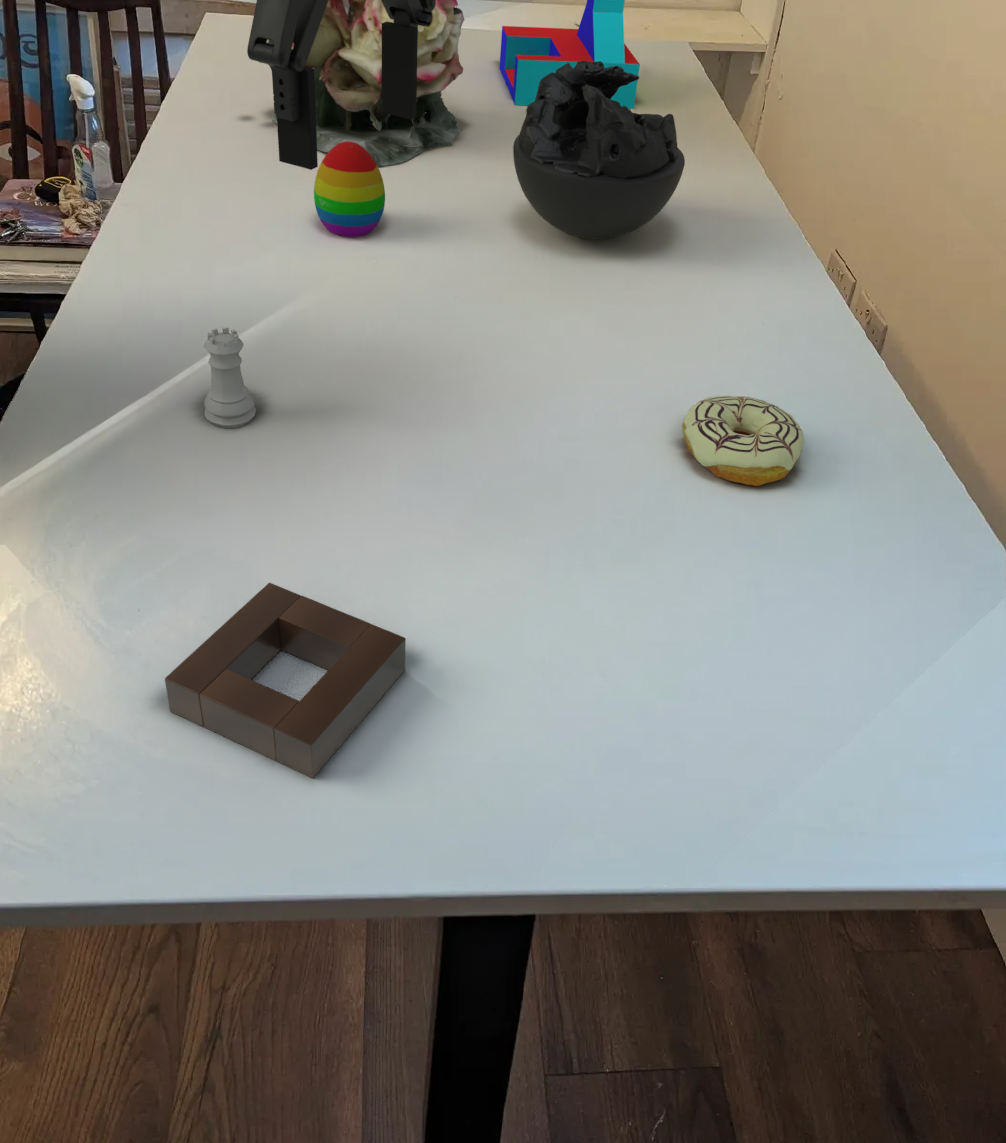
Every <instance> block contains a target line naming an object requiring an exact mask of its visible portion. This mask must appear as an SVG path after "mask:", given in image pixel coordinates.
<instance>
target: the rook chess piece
mask: <svg viewBox="0 0 1006 1143" xmlns="http://www.w3.org/2000/svg"><path fill="white" fill-rule="evenodd" d="M221 330H222V332H219V329H218V328H214V329H211V332H207V336H206V337H207V339H206V340H205V341H204V344H203V347H204V349H205V351H206V352H207V353H208V354H209V355H210V357H209V359H208V362H207V363H208V364H209V366H210V369H211V381H210V382H211V384H210V388H209V389H208V392H207V395H206V396H205V399H204V403H203V406H204V408H205V409H204V412H203V414H204V416H205V419H207V420H208V421H209V422H210V423H211V424H213V425H214V426H216V427H219V428H224V429H233V428H240V427H242V426H245V425H248V423H250V422H251V421H252V420H253V419H254V417H255V416H256V412H257V409H256V408H255V399H254V397H253V395H252V393H251V392H250V391H249V389H248V387H247V386H246V385H245V383H244V379H243V374H242V371H241V370H242V369H241V368H242V367H241V364H242V363H243V359H242V356H240V352H241V350H243V347H244V342H243V340H242V339H241V338H240V337H239V334H238V332H237V330H236V329H234V328H233V329H231V330H229V327H222V328H221ZM229 331H230V332H229Z"/></svg>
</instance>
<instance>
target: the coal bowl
mask: <svg viewBox="0 0 1006 1143" xmlns="http://www.w3.org/2000/svg"><path fill="white" fill-rule="evenodd" d="M639 79H640V76H639V75H638V76H636V75H634V74H632V73H626V72H625V71H624V69H623V68H622V67H620V66H613V67H612V66H611V67H609V68H604V64H603V62H601V61H598V62H587V61H579V62H577V64H576V66H575V67H574V68H572V67H571V65H570V64H569V63H566V64H565V65H563V66H562V67H560V68H558V69H557V70H556V72H555V73H553V72H552V73H550V74H548V75H547V76H545V77H543V78H542V79H541V80H540V82H539V87H538V90H537V95H536V98H535V101H534V102H533V103H531V104H530V105H526V106H527V107H526V109H525V110H526V112H525V113H526V114H525V118H524V119H523V123H522V125H521V128H520V131H519V133H518V135H517V136H516V138H515V139H514V141H513V145H512V155H513V165H514V169H515V174H516V178H517V180H518V183H519V186H520V188H521V190H522V192H523V194H524V197H525V198H526V199H527V201H528V203H529V204H530V206H531V207H532V208H533V210H534V211H535V212H536V213H537V214H538V215H539V216H540V217H541V218H542V219H543V220H544V221H545V222H547V223H548V224H549V225H551V226H552V227H554V228H555V229H558V230H559V231H561V232H563V233H565V234H568V235H570V236H573V237H577V238H581V239H587V240H608V239H613V238H618V237H621V236H625V235H628V234H629V233H631V232H634V231H636V230H638V229H640V228H642V227H643V226H645V225H646V224H647V223H649V222H651V220H653V219H654V218H655V217H656V216H657V215H658V214H659V213H660V212H661V211H662V210H663V209H664V208H665V206H666V205H667V203H668V202H669V201H670V199H671V198H672V196H673V195H674V193H675V191H676V190H677V188H678V185H679V183H680V181H681V178H682V175H683V173H684V169H685V165H686V164H685V163H686V160H685V154H683V152H682V150H681V149H680V148H679V147H678V138H677V137H678V136H677V129H676V123H675V117H674V115H673V114H672V113H668V114H666V115H665V116H662V115H661V114H657V113H654V114H653V113H636V112H632V110H631V109H628V108H627V107H626V106H620V103H619V102H617V101H614V100H611V98H612V97H613V96H614V95H615V93H616V92H617V90H618V88H619V87H621V86H624V85H628V84H629V83H631V82H633V81H636V80H639Z"/></svg>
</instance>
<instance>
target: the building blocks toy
mask: <svg viewBox="0 0 1006 1143" xmlns="http://www.w3.org/2000/svg"><path fill="white" fill-rule="evenodd" d="M625 1H626V0H586V4H585V7H584V10H583V13H582V17H581V18H580V19H581V20H580V23H579V26H578V28H564V27H563V28H562V27H561V28H560V27H537V26H518V25H517V26H513V25H502V26H501V37H500V38H501V39H500V56H499V71H500V73H501V75H502V78H503V80H504V83H505V85H506V88H507V90H508V93H509V95H510V97H511V99H512V102H513V104H514V106H528V105H530V104H531V103H533V102H534V101H535V98H536V95H537V90H538V87H539V82H540V80H541V79H542V78H543V77H545V76H547V75H548V74H550V73H552V72H553V73H555V72H556V70H557V69H558V68H560V67H562V66H563V65H565V64H566V63H569V64H570V65H571V67H572V68H574V67H575V66H576V64H577V62H579V61H587V62H598V61H601V62H603V64H604V68H609V67H611V66H612V67H613V66H620V67H622V68H623V69H624V71H625V72H626V73H632V74H634V75H636V76H639V73H640V66H641V64H640V62H639V61H638V59H636V57H635V56H634V54H633V53H632V52H631V50H630V49H629V48H628V46H627V45H626V44H625V31H624V28H625V27H624V25H625V24H624V9H625ZM638 80H639V79H638ZM638 80H636V81H633V82H631V83H629V84H628V85H624V86H621V87H619V88H618V90H617V92H616V93H615V95H614V96H613V97H612V98H611V100H614V101H617V102H619V103H620V106H626V107H627V108H628V109H629V110H631V109H632V110H634V109H635V103H636V95H637V88H638Z"/></svg>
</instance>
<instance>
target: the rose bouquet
mask: <svg viewBox="0 0 1006 1143" xmlns="http://www.w3.org/2000/svg"><path fill="white" fill-rule="evenodd" d="M458 6H459V4H458V1H457V0H436V5H435V7H434V9H433V10H432V14H433V18H432V23H431V25H430V26H429V27H426V26H421V25H418V46H417V96H416V117H415V118H413V119H407V118H402V117H398V116H394V115H390V114H386V113H382V23H384V22H392V23H394V20H393V19H390V18H389V16H388V14H387V12H386V10H385V7H384V5H383V3H382V1H381V0H329V1H328V3H327V6H326V9H325V12H324V15H323V17H322V20H321V23H320V26H319V28H318V31H317V34H316V37H315V40H314V42H313V45H312V48H311V51H310V54H309V56H308V59H307V62H306V65H305V67H309V68H313V69H314V75H315V104H316V132H317V151H320V152H322V153H323V152H324V153H328V152H329V151H330V150H331V149H332V148H333V147H334V146H336V145H337V144H339V143H342V142H346V141H349V142H354V143H357V144H359V145H360V146H362V147H363V148H364V149H365V150H367V152H368V153H369V154H370V155H371V156H372V158H373V159H374V161H375V162H376V164H377V166H378V168H382V167H385V166H391V165H397V164H401V163H403V162H407V161H409V160H410V159H413V158H414V157H416V156H417V155H419V154H421V153H423V152H424V151H428V150H432V149H435V148H442V147H453V145H454V139H455V137H456V136H457V135H459V134H460V132H462V131H463V129H460V128H459V127H458V121H457V118H456V115H454V114H453V113H452V112H451V111H450V110H449V109H448V107H446V105H445V103H444V101H443V97H442V91H445V89H446V88H447V87H448V86H449V85H451V83H453V81H456V79H457V78H458V77H459V76H460V75H462V74H463V73H464V67H463V65H462V64H461V62H460V55H459V41H460V37H461V35H462V26H463V24H464V21H465V17H464V12H463V11H462V9H461V8H459V7H458ZM254 12H255V8H254V9H253V15H254ZM268 42H269V40H268V39H267V42H266V43H268ZM293 47H294V44H292V50H293ZM272 114H273V115H272V117H271V121H272V123H275V124H276V125H277V117H276V115H275V112H273V113H272ZM275 131H277V132H278V129H277V130H275Z"/></svg>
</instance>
